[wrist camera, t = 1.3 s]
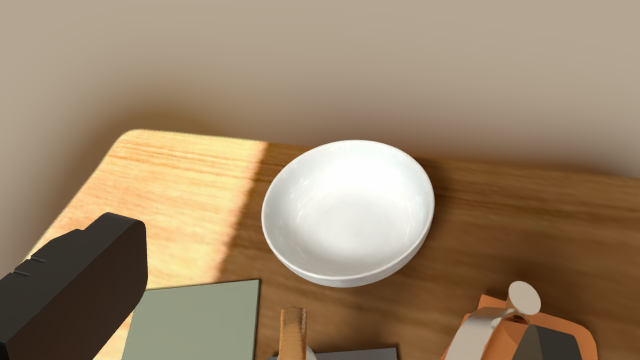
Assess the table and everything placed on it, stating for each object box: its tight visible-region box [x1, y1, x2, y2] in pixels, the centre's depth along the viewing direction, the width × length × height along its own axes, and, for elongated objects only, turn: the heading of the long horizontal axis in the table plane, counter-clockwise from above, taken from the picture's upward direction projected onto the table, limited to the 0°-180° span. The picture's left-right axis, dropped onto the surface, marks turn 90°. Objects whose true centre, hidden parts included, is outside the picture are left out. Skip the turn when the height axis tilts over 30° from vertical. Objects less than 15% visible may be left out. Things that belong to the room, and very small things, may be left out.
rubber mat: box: [121, 280, 260, 360], centre depth 58 cm, size 16×16×1 cm
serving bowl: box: [262, 140, 435, 287], centre depth 62 cm, size 21×21×7 cm
